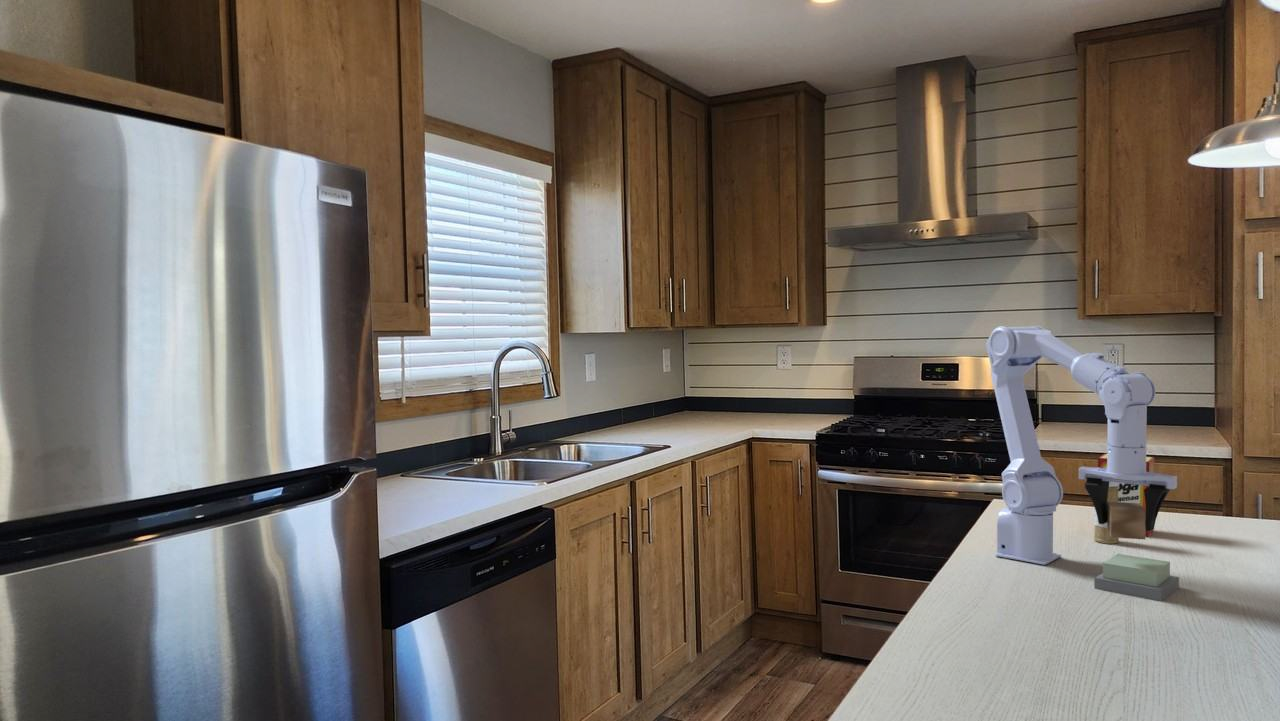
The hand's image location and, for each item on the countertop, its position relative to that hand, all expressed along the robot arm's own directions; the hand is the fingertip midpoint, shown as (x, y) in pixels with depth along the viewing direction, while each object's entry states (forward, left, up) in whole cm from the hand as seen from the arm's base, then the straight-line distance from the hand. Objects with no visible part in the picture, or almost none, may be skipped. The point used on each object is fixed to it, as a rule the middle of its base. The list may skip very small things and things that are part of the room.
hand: (1125, 526), depth 149 cm
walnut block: (0, 0, -1) cm, 1 cm away
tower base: (+1, +1, -11) cm, 11 cm away
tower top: (+1, +1, -9) cm, 9 cm away
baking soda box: (-13, +42, -11) cm, 45 cm away
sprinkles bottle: (-13, +30, -11) cm, 34 cm away
